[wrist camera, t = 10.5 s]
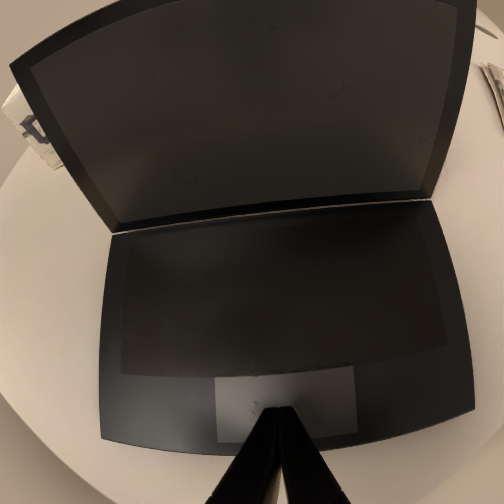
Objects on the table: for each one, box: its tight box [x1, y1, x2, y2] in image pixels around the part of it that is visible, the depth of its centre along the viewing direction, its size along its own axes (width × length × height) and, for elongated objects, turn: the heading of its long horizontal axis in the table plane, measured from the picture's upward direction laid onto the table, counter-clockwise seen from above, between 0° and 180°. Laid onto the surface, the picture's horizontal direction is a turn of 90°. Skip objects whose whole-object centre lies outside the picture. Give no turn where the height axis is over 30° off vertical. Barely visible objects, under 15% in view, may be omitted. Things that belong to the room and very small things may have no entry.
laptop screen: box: [9, 0, 477, 233], centre depth 13 cm, size 15×24×1 cm
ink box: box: [1, 83, 63, 170], centre depth 24 cm, size 8×5×12 cm, turn 18°
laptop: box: [99, 200, 475, 456], centre depth 17 cm, size 15×24×2 cm, turn 93°
